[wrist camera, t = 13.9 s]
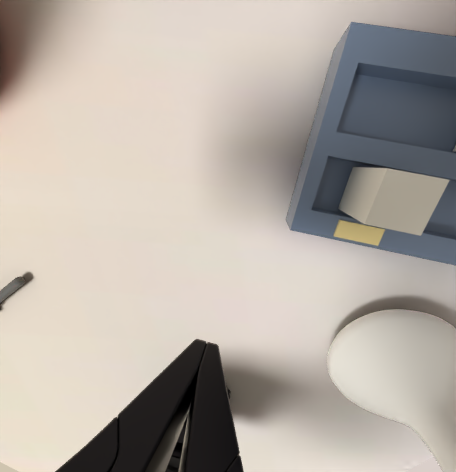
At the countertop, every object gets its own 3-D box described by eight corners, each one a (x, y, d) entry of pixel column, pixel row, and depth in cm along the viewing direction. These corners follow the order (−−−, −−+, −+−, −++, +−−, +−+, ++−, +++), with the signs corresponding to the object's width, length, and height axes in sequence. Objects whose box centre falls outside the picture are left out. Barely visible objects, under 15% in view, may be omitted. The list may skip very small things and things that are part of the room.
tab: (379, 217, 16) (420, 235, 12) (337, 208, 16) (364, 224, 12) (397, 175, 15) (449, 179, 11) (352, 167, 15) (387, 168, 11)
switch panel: (484, 261, 17) (531, 282, 14) (285, 219, 19) (290, 230, 16) (597, 88, 13) (695, 66, 10) (333, 49, 14) (352, 19, 12)
